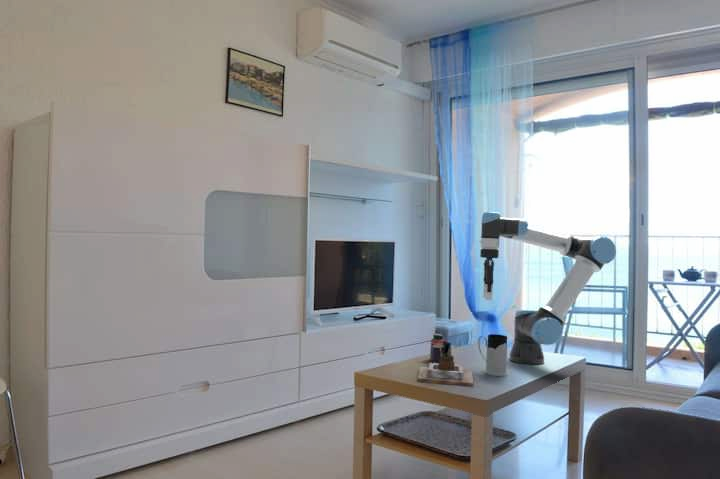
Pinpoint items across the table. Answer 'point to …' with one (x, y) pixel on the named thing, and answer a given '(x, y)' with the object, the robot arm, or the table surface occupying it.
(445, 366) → the utensil holder
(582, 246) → the robot arm
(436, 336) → the supplement bottle
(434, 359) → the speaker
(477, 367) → the table surface
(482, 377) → the table surface
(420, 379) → the socket plate
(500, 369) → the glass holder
